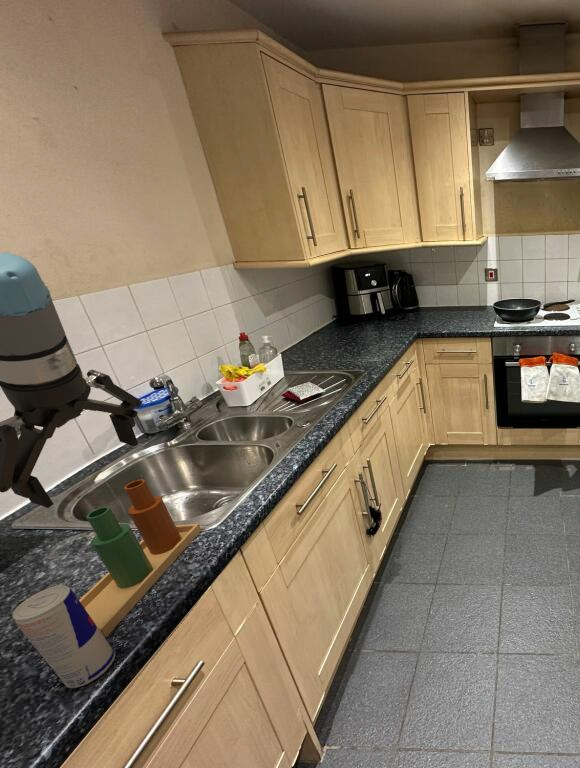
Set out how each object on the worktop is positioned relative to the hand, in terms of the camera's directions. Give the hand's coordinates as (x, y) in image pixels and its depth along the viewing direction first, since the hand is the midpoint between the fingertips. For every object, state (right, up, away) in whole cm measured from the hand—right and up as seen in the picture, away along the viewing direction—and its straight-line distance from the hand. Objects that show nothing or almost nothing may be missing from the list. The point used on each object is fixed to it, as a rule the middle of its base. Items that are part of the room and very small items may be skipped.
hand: (89, 470), depth 66 cm
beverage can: (+6, -29, -5) cm, 30 cm away
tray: (-2, -23, +11) cm, 26 cm away
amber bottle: (-3, -20, +18) cm, 27 cm away
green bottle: (-2, -23, +11) cm, 26 cm away
